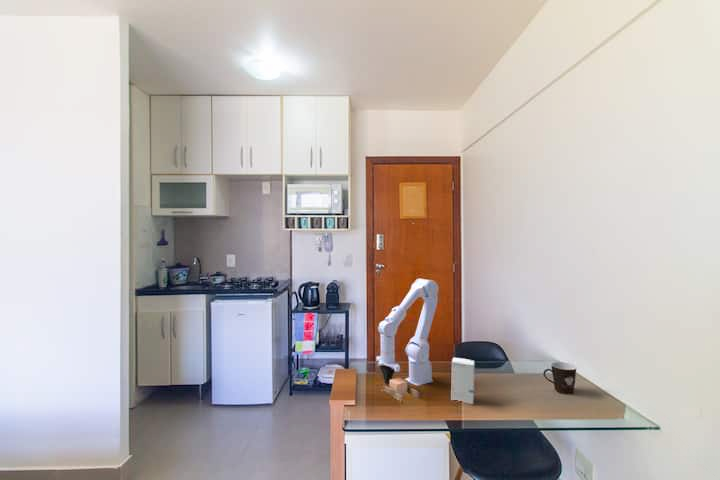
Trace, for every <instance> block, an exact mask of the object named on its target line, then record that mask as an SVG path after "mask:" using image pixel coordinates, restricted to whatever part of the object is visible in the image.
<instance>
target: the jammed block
mask: <svg viewBox="0 0 720 480" xmlns="http://www.w3.org/2000/svg"><path fill="white" fill-rule="evenodd" d="M388 385H389V386H388V387H389V388H391V389H392V390H394V391H395V392H397V393H398V394H400V395H404V394H407V385H408V381H406V380H405V379H403V378H402V377H400V376H399V377H396V378H392V379H391V380H389V384H388Z"/></svg>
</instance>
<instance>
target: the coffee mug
mask: <svg viewBox="0 0 720 480" xmlns="http://www.w3.org/2000/svg"><path fill="white" fill-rule="evenodd" d="M550 365H551V369H550V368H546V369H544V371H543V377H544V378H545V379H546V380H547V381H549V382H550V383H552V384H553V385H554V386H553V387H554V391H555V390H556V391H555V392H557V393H559V394H562V395H567V394H571V395H574V392H575V384H576V376H577V375H576V374H577V367H576V365H574V364H572V363H568V362H563V361H554V362H551V364H550ZM547 371H550V372H551V374H552V379H553V380H551V379H549V378H548V377H547V376H546V373H547Z"/></svg>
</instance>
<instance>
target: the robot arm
mask: <svg viewBox="0 0 720 480" xmlns="http://www.w3.org/2000/svg"><path fill="white" fill-rule="evenodd" d="M439 289H440V288H439V285H438V284H437V282H436V281H435V280H433V279H425V278H420V277H419V278H417V279H416V280H414V282H413V283H412V284H411V287H410V289H409V291H408V293H407V294H406V296H405V297H404V298H403V300H402V302H401V303H400V304H399V305H397V306H395V307H393V308H392V309H391V311H390V313H389V314H388V315H387V316H386V317H385V318H384V320H382V321H380V322H379V324H378V327H377V331H378V332H379V334H380V335H379V336H380V355H377V356H375V357H376V358H375V359H376V360H375V361H376V362H378V365H379V369H380V372H381V373H382V377H383V382H384V383H385V384H384V385H389V380H391V379H393V375H394V373H395V372H396V373H398V372H400V371H401V365H399V364H398V363H397V362H396V360H395V335H397V332H398V327H399V325H400V324H402V323H401V322H402V321H403V320H404V319H405V317H406V316H407V310H409V308H410V307H411V306H412V305H413V304H414V303H415V302H416V300H417V299H418V298H422V300H423V305H422V308H421V313H420V316H419V318H418V321H417V322H418V323H417V327H416V328H415V329H416V330H415V333H414V336H412V337H411V338H410V340H409V341H408V343H407V345H406V347H405V354H406V356H407V358H408V377H406V378H404V380H405V381H406V380H407V383H410V384H411V385H413V384H414V385H413V386H415V385H416V386H415V387H417V386H421V385H425V384H428V383H432V382H434V380H433V376H432V375H433V373H432V370H433V368H432V367H433V366H432V362H431V361H430V360H429V357H430V343H429V342H428V338H429V335H430V330H431V327H432V323H433V319H434V315H435V313H436V309H437V305H438V300H439V299H438V297H439V296H438V293H439Z"/></svg>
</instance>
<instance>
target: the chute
mask: <svg viewBox="0 0 720 480" xmlns="http://www.w3.org/2000/svg"><path fill="white" fill-rule="evenodd" d="M382 385H383V386H382V391H383V390H384V391H386V392H387V393H389V394H390V395H392V396H393V397H394V398H396V399H397V400H399V401H400V402H401V403H403V396H402V395H400V394H398V393H397V392H395V391H394V390H392V389H391V388H390V387H389V386H387V384H382ZM407 392H408V393H409V394H411V395H412V396H414V397H416V398H419V397H420V392H419V391H418V390H416V388H413V387H411V386H409V385H408V384H407Z"/></svg>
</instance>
